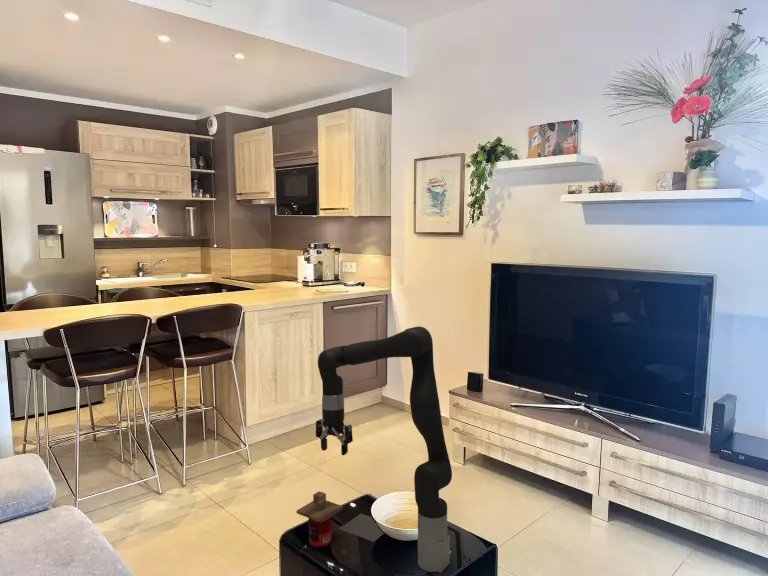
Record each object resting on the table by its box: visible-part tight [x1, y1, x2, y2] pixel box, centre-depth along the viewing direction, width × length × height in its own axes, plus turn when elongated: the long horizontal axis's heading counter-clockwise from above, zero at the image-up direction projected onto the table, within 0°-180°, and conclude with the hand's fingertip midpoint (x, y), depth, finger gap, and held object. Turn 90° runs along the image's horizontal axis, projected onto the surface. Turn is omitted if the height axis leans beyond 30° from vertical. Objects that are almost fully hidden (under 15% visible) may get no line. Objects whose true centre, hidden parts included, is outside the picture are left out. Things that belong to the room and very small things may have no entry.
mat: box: [339, 513, 385, 543], centre depth 191 cm, size 15×13×1 cm
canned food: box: [307, 516, 333, 548], centre depth 182 cm, size 8×8×11 cm
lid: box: [296, 490, 344, 523], centre depth 181 cm, size 11×11×6 cm
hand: (334, 452), depth 185 cm, fingers open, 8 cm apart
